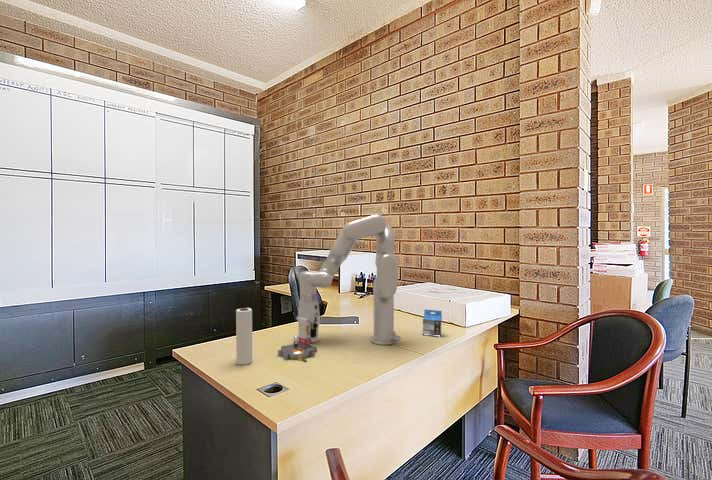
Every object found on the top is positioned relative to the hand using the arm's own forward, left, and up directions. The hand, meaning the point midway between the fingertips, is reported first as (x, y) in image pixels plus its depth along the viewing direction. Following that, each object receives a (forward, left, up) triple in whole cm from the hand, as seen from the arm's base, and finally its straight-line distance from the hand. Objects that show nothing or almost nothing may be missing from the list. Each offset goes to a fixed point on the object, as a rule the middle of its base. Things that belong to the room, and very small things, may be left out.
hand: (308, 335), depth 168 cm
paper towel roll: (+3, +33, -3) cm, 34 cm away
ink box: (0, 0, -3) cm, 3 cm away
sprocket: (-7, +14, -3) cm, 16 cm away
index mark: (-15, +19, -3) cm, 24 cm away
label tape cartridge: (-43, -44, -3) cm, 61 cm away
